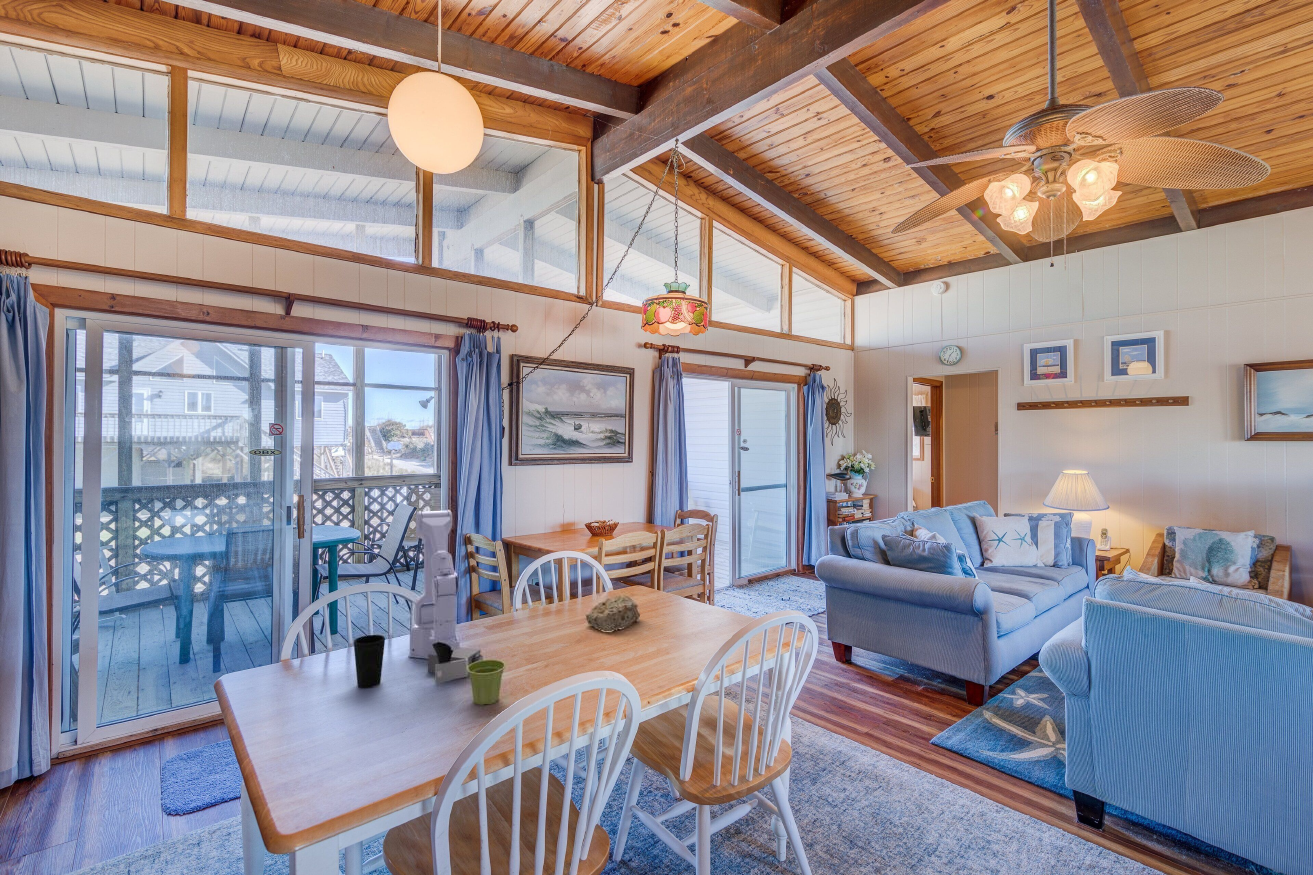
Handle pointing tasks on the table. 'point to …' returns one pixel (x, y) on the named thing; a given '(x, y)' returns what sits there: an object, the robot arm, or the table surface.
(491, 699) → the plant pot
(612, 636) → the table surface
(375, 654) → the cup
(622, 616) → the rock
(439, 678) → the side door
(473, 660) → the camera body
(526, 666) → the table surface
